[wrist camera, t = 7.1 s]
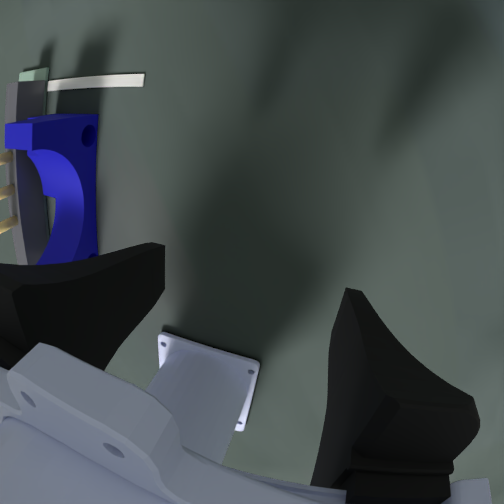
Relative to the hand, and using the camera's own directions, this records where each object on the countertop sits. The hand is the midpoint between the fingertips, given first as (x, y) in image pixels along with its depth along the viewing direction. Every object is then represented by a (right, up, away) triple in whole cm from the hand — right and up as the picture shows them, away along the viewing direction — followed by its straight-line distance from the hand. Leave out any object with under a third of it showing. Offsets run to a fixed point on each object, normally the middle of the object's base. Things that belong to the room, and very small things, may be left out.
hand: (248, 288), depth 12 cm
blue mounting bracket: (-13, +6, +9) cm, 17 cm away
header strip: (-18, +8, +9) cm, 22 cm away
